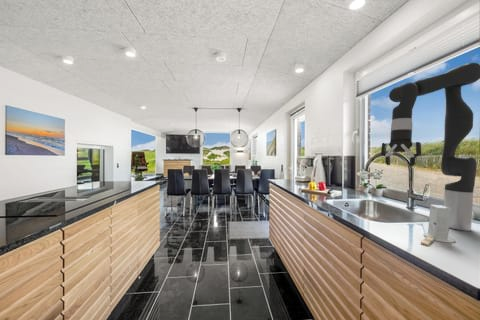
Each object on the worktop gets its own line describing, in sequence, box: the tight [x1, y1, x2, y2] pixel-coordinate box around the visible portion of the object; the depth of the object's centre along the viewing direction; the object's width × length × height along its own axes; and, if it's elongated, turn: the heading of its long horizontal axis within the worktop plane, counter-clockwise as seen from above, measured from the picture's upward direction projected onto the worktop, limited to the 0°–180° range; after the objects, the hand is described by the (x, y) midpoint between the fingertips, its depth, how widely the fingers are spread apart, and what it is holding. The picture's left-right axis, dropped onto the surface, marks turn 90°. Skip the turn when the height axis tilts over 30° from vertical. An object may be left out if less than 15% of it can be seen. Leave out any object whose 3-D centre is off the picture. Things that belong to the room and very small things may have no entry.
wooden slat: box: [420, 237, 436, 247], centre depth 78 cm, size 10×2×1 cm, turn 127°
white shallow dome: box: [423, 231, 456, 244], centre depth 82 cm, size 9×9×1 cm
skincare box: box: [427, 204, 451, 239], centre depth 82 cm, size 6×4×12 cm
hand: (399, 165), depth 93 cm, fingers open, 8 cm apart
